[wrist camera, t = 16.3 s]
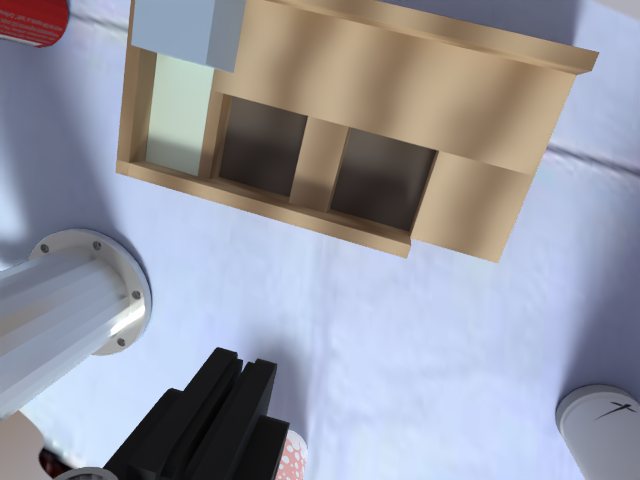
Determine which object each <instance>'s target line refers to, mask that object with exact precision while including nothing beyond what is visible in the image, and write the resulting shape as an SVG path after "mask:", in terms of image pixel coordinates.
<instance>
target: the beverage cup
mask: <svg viewBox="0 0 640 480" xmlns="http://www.w3.org/2000/svg"><path fill="white" fill-rule="evenodd" d="M307 454H308V450H307V445H306V443H305V441H304V440H303V438H302V437H301V436H300V435H298V434H297V433H296V432H294V431H291V430H288V433H287V438H286V442H285V446H284V450H283V454H282V457H281V461H280V465H279V468H278V472H277V476H276V479H275V480H303V475H304V470H305V464H306V459H307Z"/></svg>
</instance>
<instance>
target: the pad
mask: <svg viewBox="0 0 640 480" xmlns="http://www.w3.org/2000/svg"><path fill="white" fill-rule="evenodd" d="M213 71H214V68H211V67H207V66H203V65H199V64H195V63H192V62H188V61H184V60H180V59H176V58H172V57H169V56H165V55H162V54H159V53H157V61H156V70H155V79H154V88H153V96H152V105H151V114H150V123H149V132H148V141H147V150H146V159H145V161H147V162H150V163H154V164H157V165H161V166H164V167H168V168H171V169H174V170H178V171H181V172H185V173H188V174H192V175H195V176H197V175H198V172H199V171H198V169H199V163H200V160H201V158H200V157H201V149H202V147H203V146H202V143H203V139H204V137H203V136H204V130H205V127H206V125H205V123H206V117H207V114H208V113H207V112H208V111H207V110H208V108H209V106H208V105H209V101H210V100H209V97H210V95H211V92H210V91H211V88H212V85H211V84H212V81H213V75H214V74H213V73H214V72H213Z"/></svg>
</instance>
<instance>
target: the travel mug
mask: <svg viewBox="0 0 640 480" xmlns="http://www.w3.org/2000/svg"><path fill="white" fill-rule="evenodd" d="M556 425H557V427H558V430H559V432H560V434H561V436H562V437H563V439H564V441H565V443H566V445H567V447H568V449H569V450H570V452H571V454H572V456H573V458H574V460H575V462H576V463H577V465H578V467H579V469H580V471H581V473H582V475H583V476H584V478H585V480H640V405H639V403H638V402H637V401H636V400H635V399H634V398H633V397H632V396H631V395H630V394H629V393H627V392H625V391H624V390H622V389H619V388H617V387H613V386H609V385H589V386H585V387H581V388H579V389H576V390H574V391H573V392H571V393H570V394H568V395H567V396H566V397H565V398H564V399H563V400H562V401H561V403H560V404H559V406H558V409H557V412H556Z"/></svg>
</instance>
